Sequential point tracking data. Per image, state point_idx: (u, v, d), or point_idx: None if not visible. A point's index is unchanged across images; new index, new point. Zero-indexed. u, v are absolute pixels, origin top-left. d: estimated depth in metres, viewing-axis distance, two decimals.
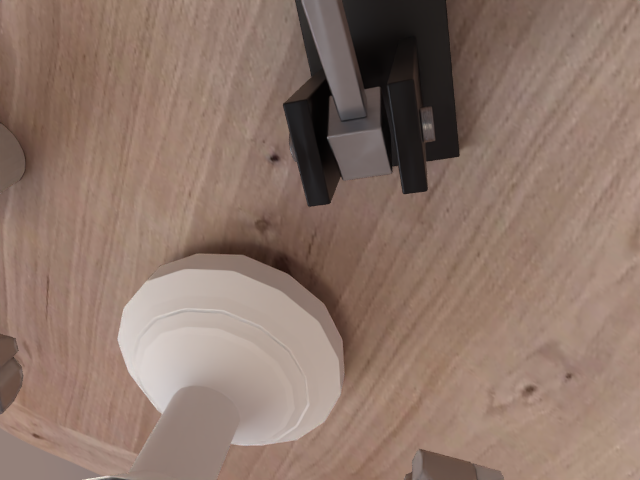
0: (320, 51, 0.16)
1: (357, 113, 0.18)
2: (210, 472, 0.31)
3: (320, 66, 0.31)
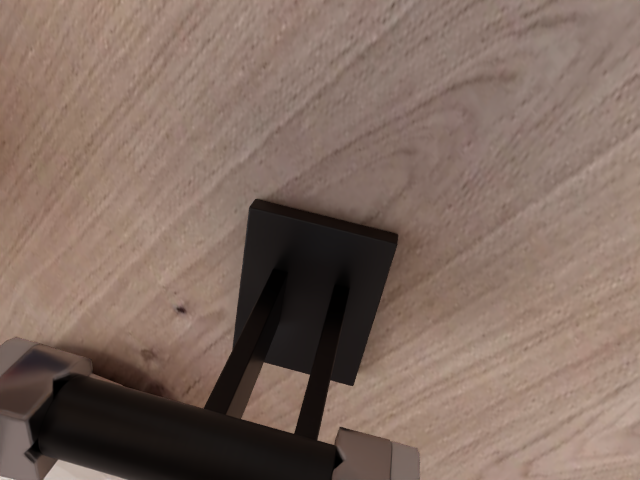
0: None
1: None
2: None
3: (253, 270, 0.30)
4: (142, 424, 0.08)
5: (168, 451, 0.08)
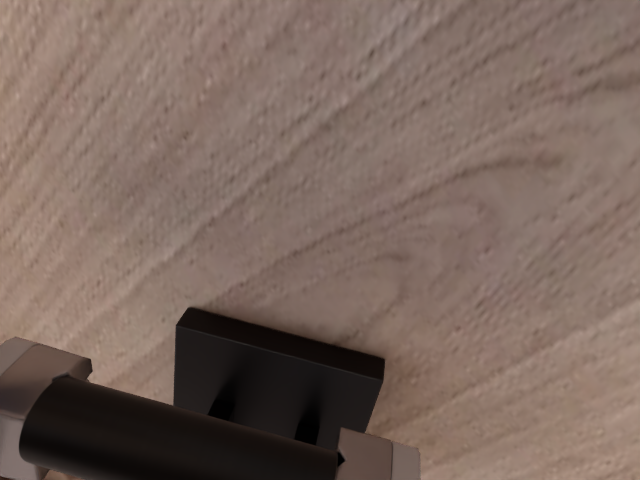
0: None
1: None
2: None
3: (188, 400, 0.22)
4: (146, 404, 0.08)
5: (171, 425, 0.08)
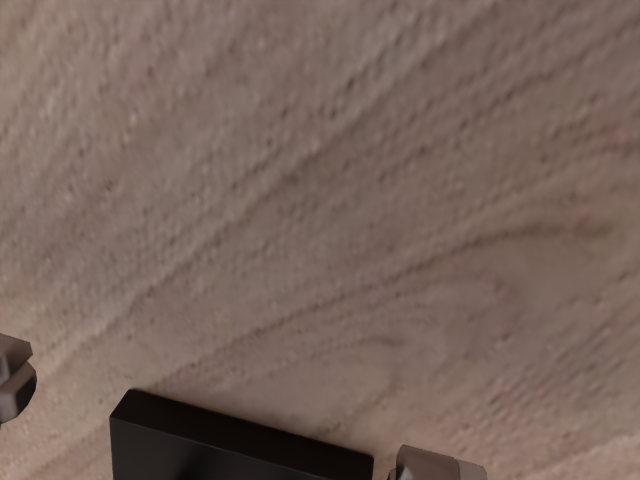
0: None
1: None
2: None
3: None
4: None
5: None
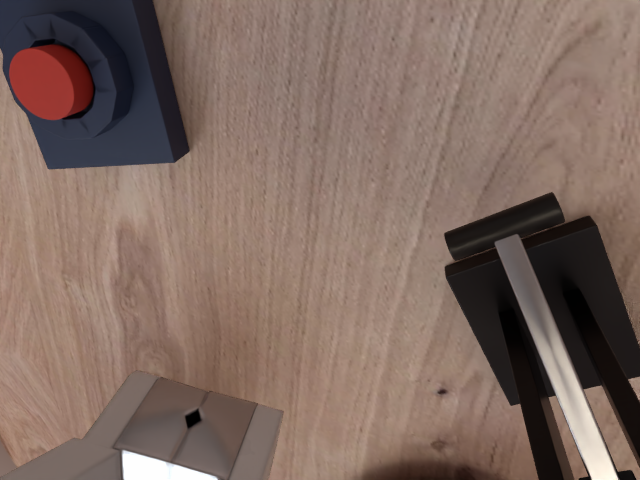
0: (565, 412, 0.20)
1: None
2: None
3: (482, 325, 0.31)
4: None
5: (490, 215, 0.22)
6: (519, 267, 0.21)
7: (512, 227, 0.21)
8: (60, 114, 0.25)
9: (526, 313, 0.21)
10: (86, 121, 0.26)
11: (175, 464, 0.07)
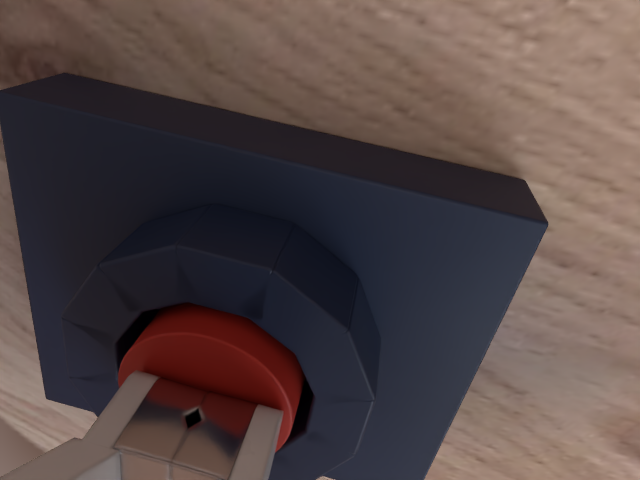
0: None
1: None
2: None
3: None
4: None
5: None
6: None
7: None
8: (281, 408, 0.09)
9: None
10: (326, 388, 0.09)
11: (175, 464, 0.07)
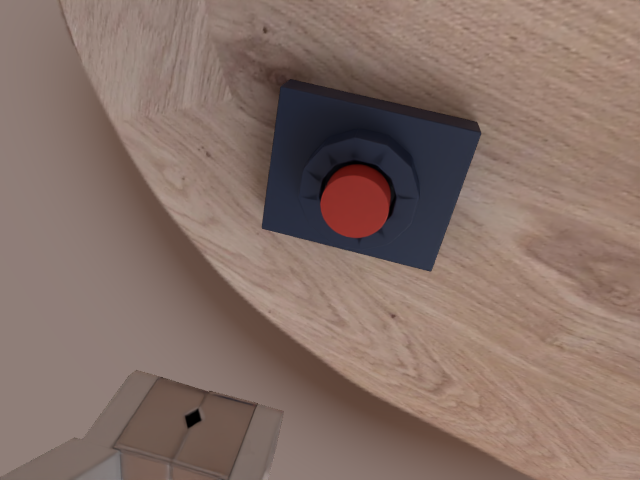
0: None
1: None
2: None
3: None
4: None
5: None
6: None
7: None
8: (384, 206, 0.24)
9: None
10: (401, 193, 0.25)
11: (175, 464, 0.07)
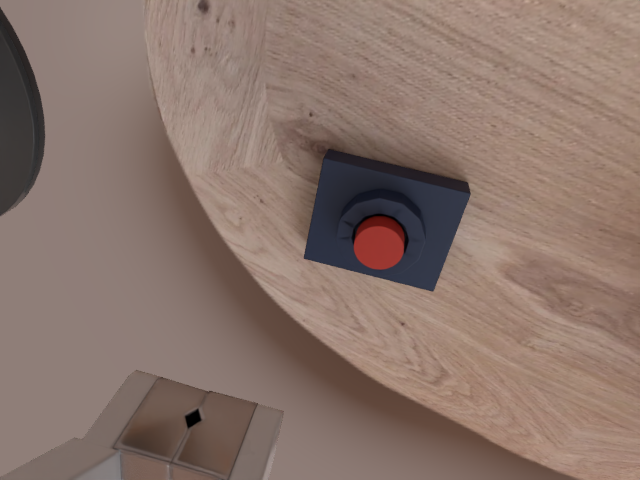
0: None
1: None
2: None
3: None
4: None
5: None
6: None
7: None
8: (401, 247, 0.34)
9: None
10: (412, 237, 0.35)
11: (175, 464, 0.07)
